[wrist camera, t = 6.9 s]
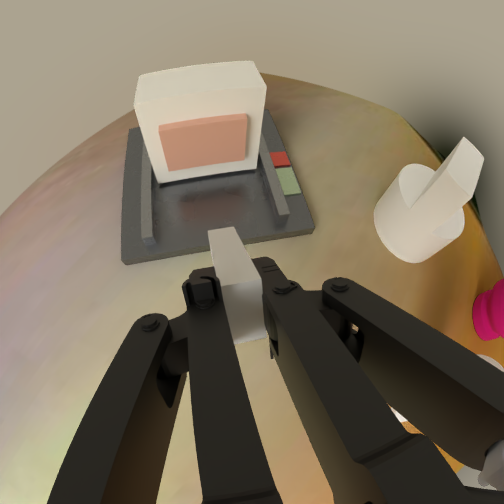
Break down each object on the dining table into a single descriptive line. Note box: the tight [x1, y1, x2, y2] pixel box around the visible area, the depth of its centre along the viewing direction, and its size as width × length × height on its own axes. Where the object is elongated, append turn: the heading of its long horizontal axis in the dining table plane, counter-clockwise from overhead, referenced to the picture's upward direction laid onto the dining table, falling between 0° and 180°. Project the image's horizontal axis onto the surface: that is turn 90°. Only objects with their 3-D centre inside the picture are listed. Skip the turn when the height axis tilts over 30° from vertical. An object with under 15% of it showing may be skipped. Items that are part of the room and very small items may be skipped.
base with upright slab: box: [374, 137, 484, 263], centre depth 22 cm, size 9×9×12 cm
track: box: [121, 109, 315, 265], centre depth 26 cm, size 18×18×6 cm
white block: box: [133, 61, 267, 184], centre depth 22 cm, size 10×6×10 cm, turn 102°
